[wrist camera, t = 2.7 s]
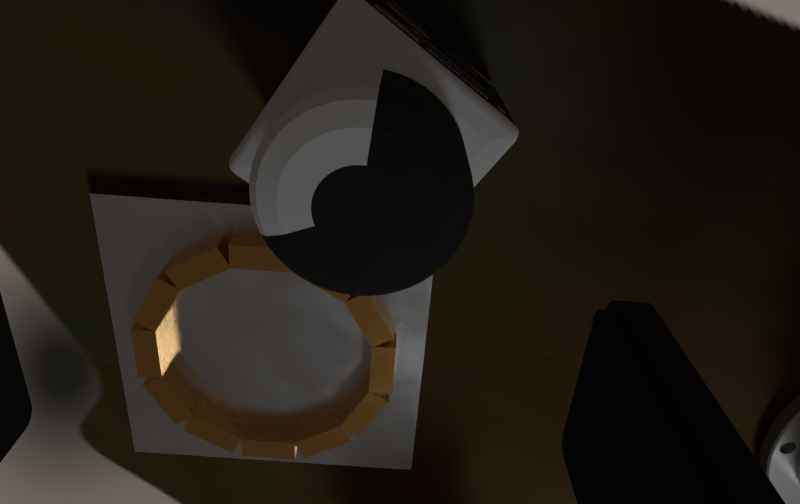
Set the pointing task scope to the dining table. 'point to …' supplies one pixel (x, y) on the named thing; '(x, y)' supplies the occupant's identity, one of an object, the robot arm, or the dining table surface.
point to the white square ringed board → (251, 341)
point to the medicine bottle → (371, 152)
